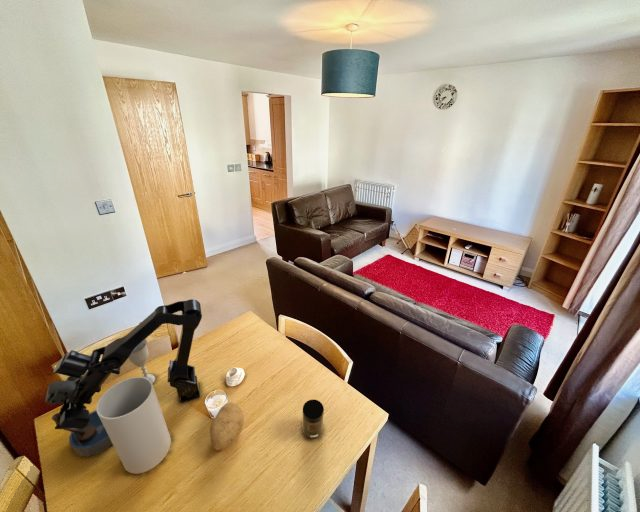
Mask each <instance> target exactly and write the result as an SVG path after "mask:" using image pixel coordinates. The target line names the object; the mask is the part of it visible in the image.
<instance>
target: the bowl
mask: <svg viewBox="0 0 640 512" xmlns="http://www.w3.org/2000/svg"><path fill="white" fill-rule="evenodd" d="M89 413H90V422H89V423H88V424H87V426H90V425H93V426H95V428H96V430H97V432H96V434H95V436H94V437H93V438H92V439H90V440H89V441H86V442H80V441H79V439H78V434H77V433H73V432H70V433H69V437H68V439H69V440H68V443H69V444H70V446H71V448H72V450H73V451H74V453H75V454H76V455H78V456H80V457H91V456H95V455H97V454H99V453H102V452H104V451H105V450H106V449H108V448H110V447H111V446H112V445H113V444H112V442H111V440H110V438H109V436H108V434H107V432H106V430H105V428H104V426H103V424H102V422H101V420H100V418H99V416H98V413H97V410H96V409H95V410H93V411H91V412H89ZM87 426H86V427H87ZM75 429H78V430H82V429H81V428H75Z"/></svg>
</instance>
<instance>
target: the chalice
mask: <svg viewBox="0 0 640 512" xmlns="http://www.w3.org/2000/svg"><path fill="white" fill-rule="evenodd" d="M147 344H148V341H147V339H145V340H143V341H142V342H141V343H140V344H139V345H138V346H137V347H135V349H134V350H133V351H132V353H131V354H130V356H129V358H128V360H129V362H130V363H132V364H133V365H134V366H137V367H138V368H140V370H141V371H142V372H141V374H142V375H143V376H142V377H145V378H148V379H149V380H150V381H151V382H152V384H153V383H155V381H156V377H155V376H154V375H153V374H151V373H148V370H147V367H146V366H145V365H146V364H147V362H148V359H149V349H148V345H147Z"/></svg>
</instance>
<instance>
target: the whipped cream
mask: <svg viewBox="0 0 640 512" xmlns="http://www.w3.org/2000/svg"><path fill="white" fill-rule="evenodd" d="M245 375H246V374H245V371H244V369H243V368H241V367H236V366H233V367H231V368H230V369H229V371H228V372H227V373H226V375H225V384H226V385H227V386H228V387H236V386H239V385H240V384H241V383H242V382H243V380H244V379H245Z"/></svg>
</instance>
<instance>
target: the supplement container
mask: <svg viewBox="0 0 640 512" xmlns="http://www.w3.org/2000/svg"><path fill="white" fill-rule="evenodd" d="M324 411H325V408H324V404H323V403H322V402H321V401H320V400H318V399H309V400H307V401H305V402H304V404H303V406H302V432H303V434H304V435H305V437H306V438H307V439H311V440H314V439H315V440H316V439H318V438H319V437H320V436H321V435H322V433H323V428H324V414H325V412H324Z"/></svg>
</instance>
